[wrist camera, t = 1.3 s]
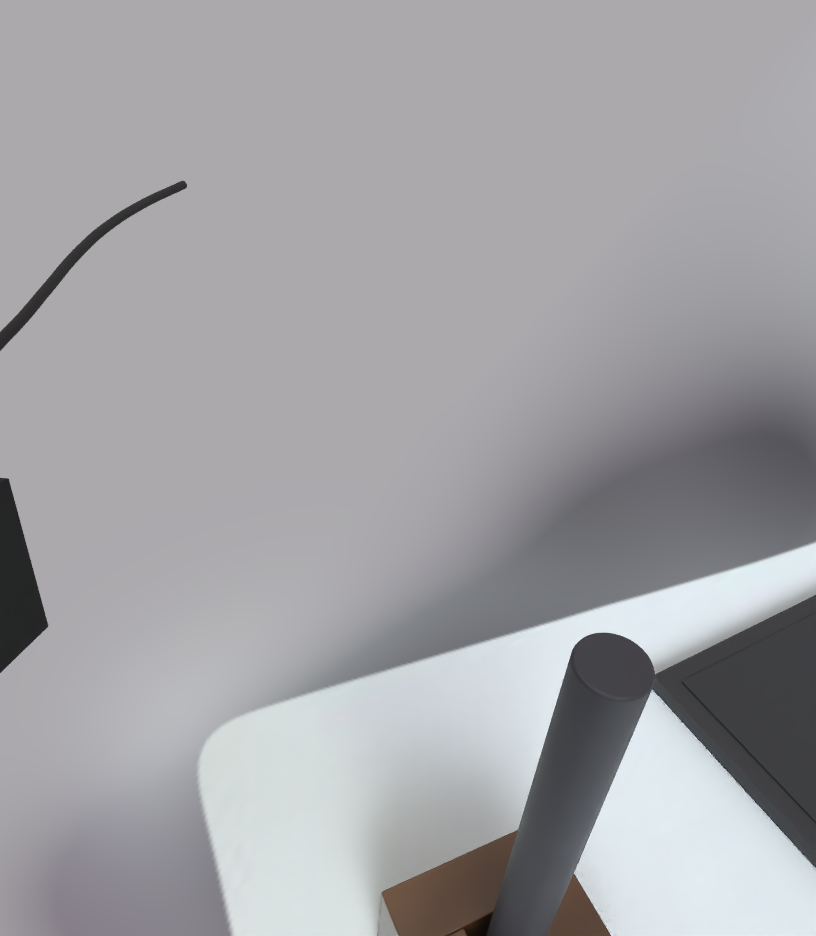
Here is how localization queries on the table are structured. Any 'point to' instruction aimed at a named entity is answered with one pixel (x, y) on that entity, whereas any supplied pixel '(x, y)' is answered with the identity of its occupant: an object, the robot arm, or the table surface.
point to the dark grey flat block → (759, 714)
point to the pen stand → (473, 899)
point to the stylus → (572, 778)
